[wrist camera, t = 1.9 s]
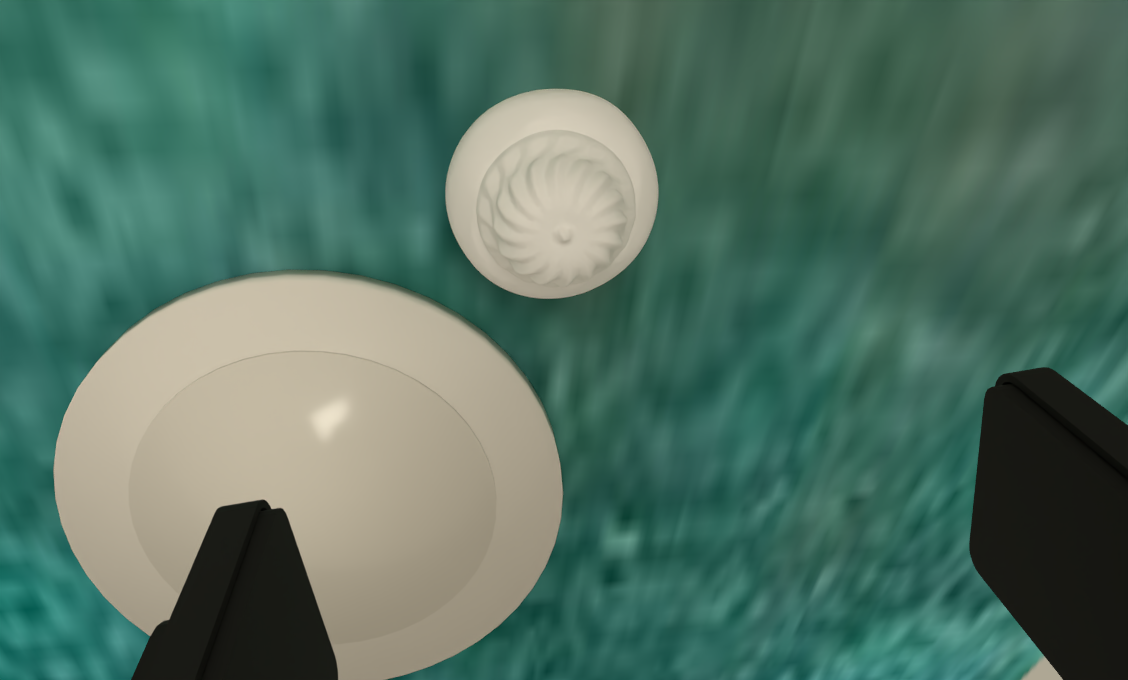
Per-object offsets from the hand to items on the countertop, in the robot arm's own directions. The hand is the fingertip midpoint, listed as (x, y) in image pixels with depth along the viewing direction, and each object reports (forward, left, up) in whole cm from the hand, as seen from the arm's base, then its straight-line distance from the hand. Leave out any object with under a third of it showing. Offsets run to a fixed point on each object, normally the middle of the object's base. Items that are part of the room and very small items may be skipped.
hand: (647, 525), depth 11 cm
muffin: (0, 0, -19) cm, 19 cm away
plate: (+10, +11, -18) cm, 24 cm away
